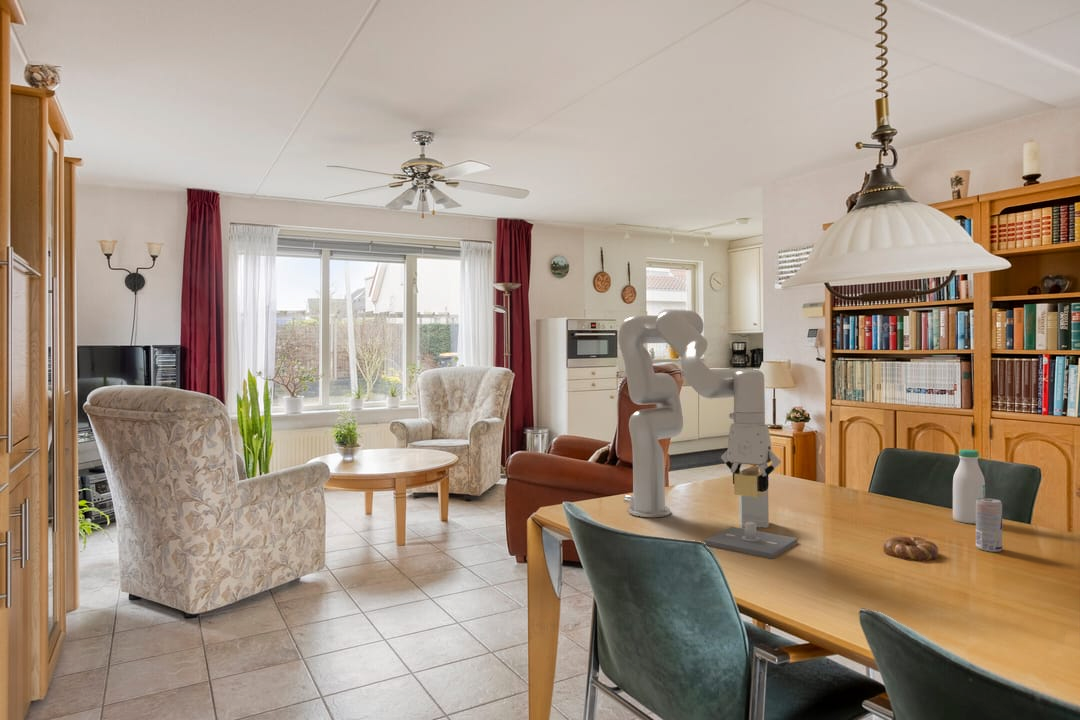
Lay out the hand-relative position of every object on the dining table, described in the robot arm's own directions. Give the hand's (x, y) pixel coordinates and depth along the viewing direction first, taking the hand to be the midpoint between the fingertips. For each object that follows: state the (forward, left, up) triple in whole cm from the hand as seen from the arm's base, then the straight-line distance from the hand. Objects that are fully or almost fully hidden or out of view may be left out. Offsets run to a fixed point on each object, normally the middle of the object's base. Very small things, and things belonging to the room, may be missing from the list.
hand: (750, 488), depth 170 cm
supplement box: (-7, +18, -14) cm, 24 cm away
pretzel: (+33, +16, -15) cm, 39 cm away
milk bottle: (+39, +57, -14) cm, 71 cm away
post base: (0, 0, -14) cm, 14 cm away
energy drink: (+47, +31, -14) cm, 58 cm away
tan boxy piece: (0, 0, -1) cm, 1 cm away
